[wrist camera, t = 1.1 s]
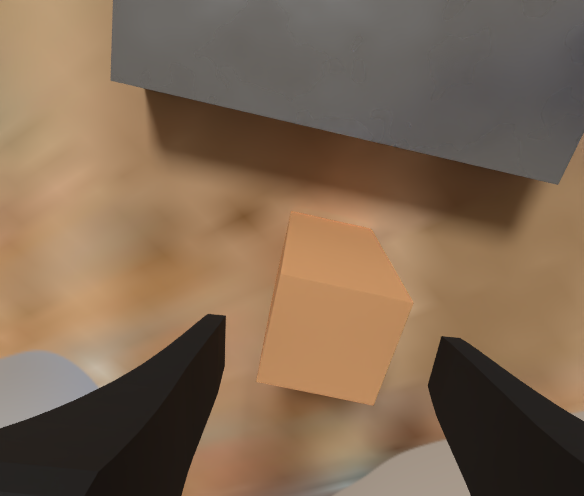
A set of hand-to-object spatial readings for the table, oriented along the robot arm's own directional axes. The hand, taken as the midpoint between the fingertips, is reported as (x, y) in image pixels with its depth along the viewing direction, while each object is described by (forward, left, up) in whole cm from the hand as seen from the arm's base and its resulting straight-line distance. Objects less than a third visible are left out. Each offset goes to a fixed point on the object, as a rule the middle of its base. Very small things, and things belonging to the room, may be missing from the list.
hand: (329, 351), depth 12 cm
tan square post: (0, 0, -8) cm, 8 cm away
